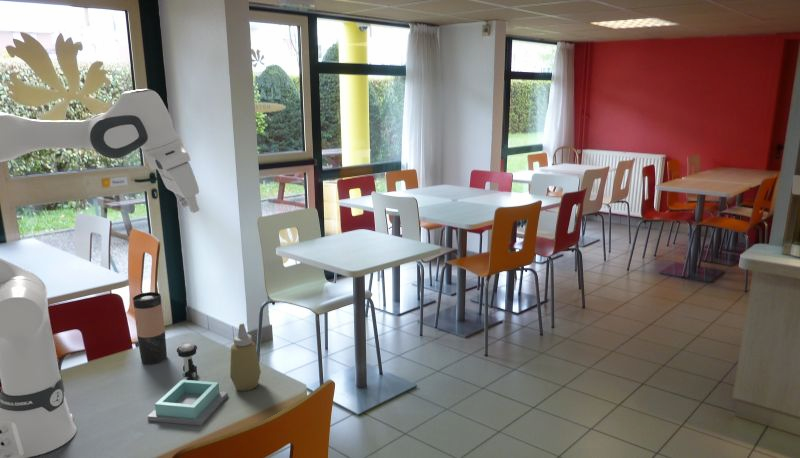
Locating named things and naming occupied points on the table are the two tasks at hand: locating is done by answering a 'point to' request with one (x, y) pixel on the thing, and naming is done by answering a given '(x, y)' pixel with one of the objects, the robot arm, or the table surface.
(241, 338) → the squeeze bottle
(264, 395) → the table surface
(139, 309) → the travel mug
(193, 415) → the socket plate
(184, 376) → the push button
